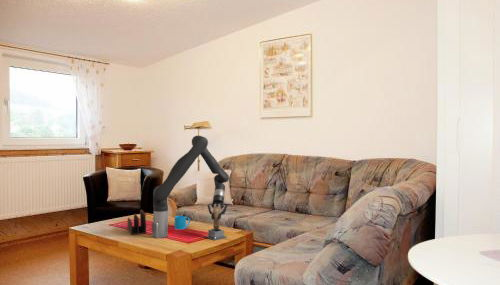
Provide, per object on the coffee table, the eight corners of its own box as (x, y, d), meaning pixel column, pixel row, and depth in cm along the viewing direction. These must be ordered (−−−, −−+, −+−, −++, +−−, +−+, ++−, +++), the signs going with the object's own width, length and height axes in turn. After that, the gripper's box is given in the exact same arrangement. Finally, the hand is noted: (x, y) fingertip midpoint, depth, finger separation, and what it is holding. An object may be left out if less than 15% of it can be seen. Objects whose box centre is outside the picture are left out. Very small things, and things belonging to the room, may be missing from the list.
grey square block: (214, 240, 240) (214, 232, 240) (205, 237, 247) (205, 229, 247) (226, 237, 246) (226, 230, 246) (217, 234, 254) (217, 227, 254)
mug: (177, 230, 266) (177, 218, 266) (172, 227, 272) (172, 216, 272) (192, 227, 273) (192, 216, 273) (187, 225, 280) (187, 214, 280)
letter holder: (141, 227, 273) (141, 208, 272) (146, 234, 255) (146, 213, 254) (127, 228, 268) (127, 209, 268) (131, 235, 250) (131, 214, 250)
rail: (215, 229, 244) (215, 207, 244) (212, 228, 247) (212, 206, 247) (220, 228, 247) (220, 207, 246) (216, 227, 249) (217, 206, 249)
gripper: (207, 193, 254) (204, 215, 242) (228, 194, 253) (226, 216, 241) (209, 200, 260) (205, 222, 248) (229, 200, 259) (227, 222, 247)
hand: (215, 218), depth 245 cm, fingers closed on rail, 3 cm apart
